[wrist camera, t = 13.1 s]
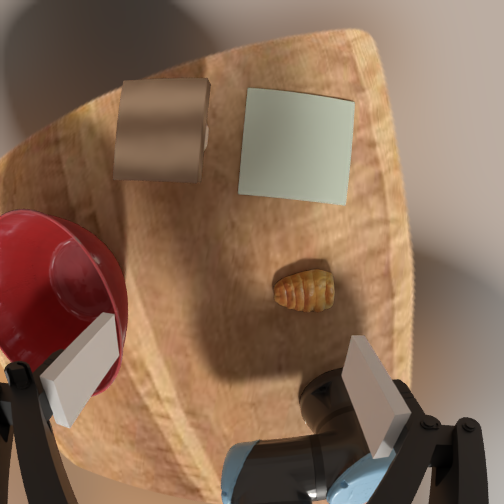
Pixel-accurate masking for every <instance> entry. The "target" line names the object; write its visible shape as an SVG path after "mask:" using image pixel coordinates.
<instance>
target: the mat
mask: <svg viewBox="0 0 504 504" xmlns="http://www.w3.org/2000/svg"><path fill="white" fill-rule="evenodd" d="M354 108H355V102H351V101H346V100H340V99H335V98H329V97H323V96H317V95H310V94H303V93H296V92H288V91H280V90H270V89H259V88H248V91H247V101H246V111H245V122H244V132H243V143H242V153H241V165H240V176H239V187H238V194H242V195H254V196H265V197H275V198H285V199H294V200H303V201H312V202H321V203H329V204H337V205H345V206H346V198H347V189H348V180H349V171H350V161H351V150H352V138H353V124H354Z"/></svg>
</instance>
